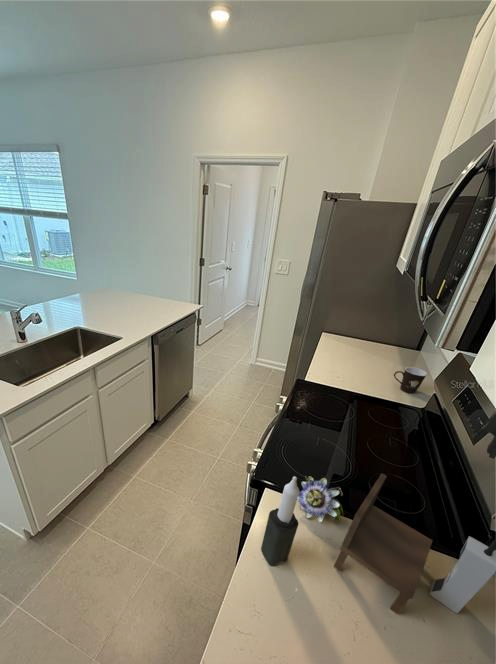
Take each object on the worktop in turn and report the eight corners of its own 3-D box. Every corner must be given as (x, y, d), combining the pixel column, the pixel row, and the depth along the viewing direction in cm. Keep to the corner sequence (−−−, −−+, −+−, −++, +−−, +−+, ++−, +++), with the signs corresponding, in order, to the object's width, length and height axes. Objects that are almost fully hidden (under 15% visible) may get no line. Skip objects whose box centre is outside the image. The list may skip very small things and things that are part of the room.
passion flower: (304, 529, 83) (284, 498, 80) (315, 497, 91) (297, 468, 87) (345, 535, 75) (325, 501, 72) (354, 499, 83) (335, 467, 79)
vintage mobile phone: (433, 582, 68) (491, 507, 55) (460, 600, 65) (527, 525, 52) (428, 595, 65) (488, 519, 53) (456, 614, 62) (526, 539, 50)
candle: (270, 567, 69) (291, 490, 56) (259, 547, 73) (276, 470, 60) (289, 560, 70) (314, 483, 58) (277, 540, 74) (298, 464, 62)
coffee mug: (420, 390, 145) (428, 371, 140) (415, 397, 139) (424, 377, 134) (393, 381, 151) (400, 363, 146) (388, 387, 145) (395, 368, 140)
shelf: (358, 522, 80) (381, 473, 71) (418, 561, 72) (453, 510, 63) (332, 566, 70) (355, 514, 61) (398, 616, 61) (436, 565, 53)
